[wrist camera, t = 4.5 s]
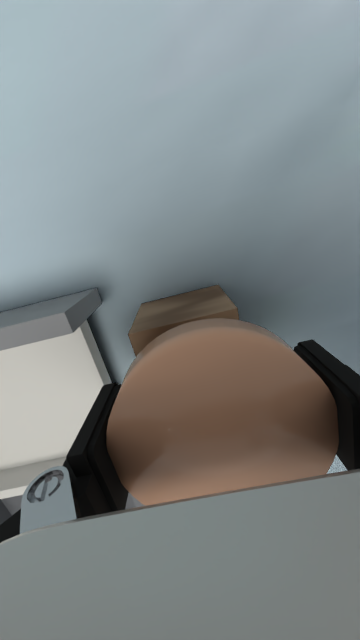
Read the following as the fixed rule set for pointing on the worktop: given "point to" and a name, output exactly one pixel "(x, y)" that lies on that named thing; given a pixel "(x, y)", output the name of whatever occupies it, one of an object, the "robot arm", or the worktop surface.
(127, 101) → the worktop surface
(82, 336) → the tray
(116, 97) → the worktop surface
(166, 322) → the brown wooden cube
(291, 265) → the worktop surface
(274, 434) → the tan domed disc
